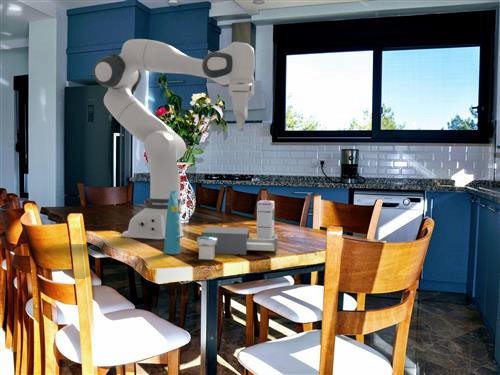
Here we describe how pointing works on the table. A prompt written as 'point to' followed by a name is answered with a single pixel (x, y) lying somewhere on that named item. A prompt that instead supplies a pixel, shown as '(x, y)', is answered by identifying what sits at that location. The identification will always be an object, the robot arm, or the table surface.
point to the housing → (228, 239)
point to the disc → (207, 241)
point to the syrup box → (265, 219)
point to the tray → (262, 244)
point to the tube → (172, 226)
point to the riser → (206, 252)
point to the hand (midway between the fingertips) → (240, 130)
